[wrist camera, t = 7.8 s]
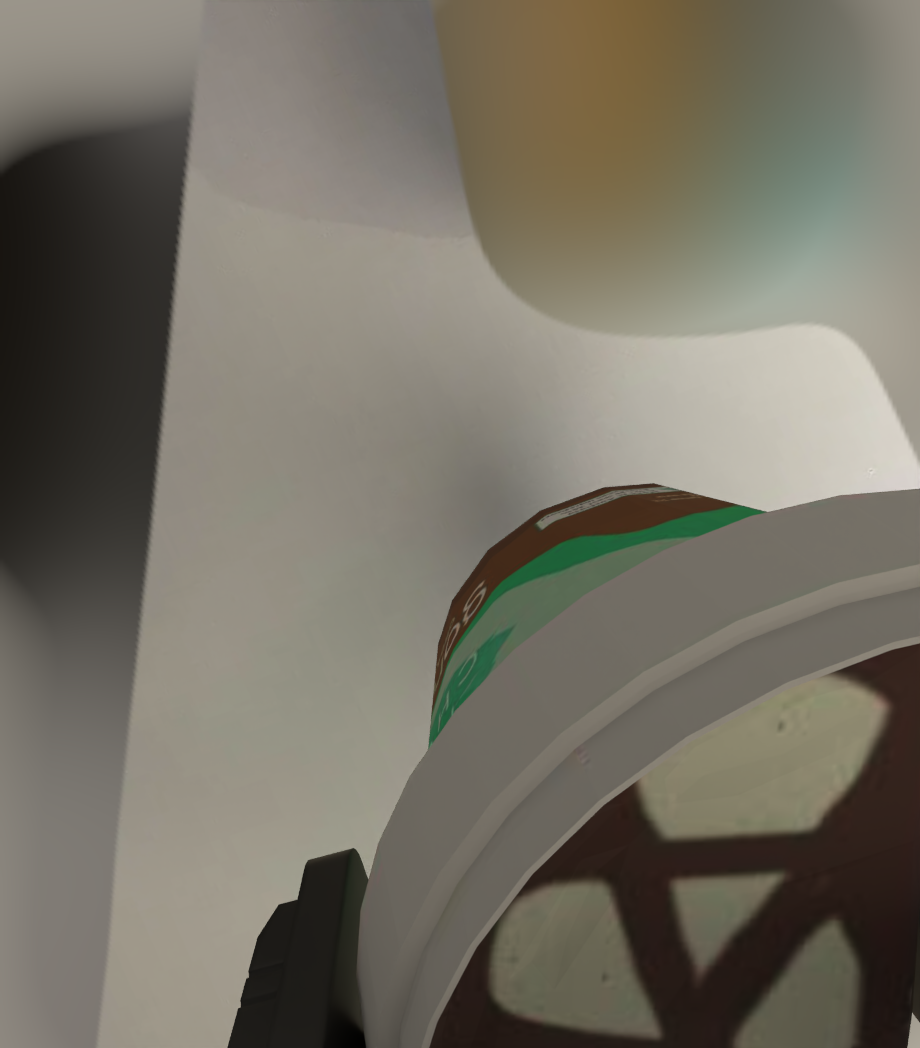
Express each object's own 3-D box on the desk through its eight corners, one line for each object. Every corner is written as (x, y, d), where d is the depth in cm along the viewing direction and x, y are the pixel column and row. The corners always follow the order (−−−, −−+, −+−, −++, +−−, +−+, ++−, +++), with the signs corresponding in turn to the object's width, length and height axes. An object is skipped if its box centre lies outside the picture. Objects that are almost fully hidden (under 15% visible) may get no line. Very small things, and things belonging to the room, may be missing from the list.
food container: (383, 414, 14) (310, 540, 5) (659, 417, 15) (1123, 540, 5) (388, 883, 17) (351, 1546, 8) (617, 876, 18) (852, 1497, 8)
